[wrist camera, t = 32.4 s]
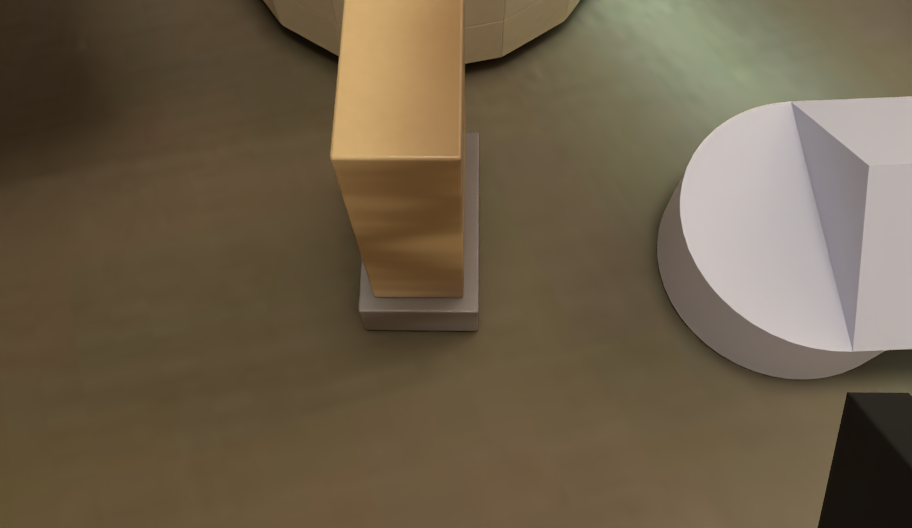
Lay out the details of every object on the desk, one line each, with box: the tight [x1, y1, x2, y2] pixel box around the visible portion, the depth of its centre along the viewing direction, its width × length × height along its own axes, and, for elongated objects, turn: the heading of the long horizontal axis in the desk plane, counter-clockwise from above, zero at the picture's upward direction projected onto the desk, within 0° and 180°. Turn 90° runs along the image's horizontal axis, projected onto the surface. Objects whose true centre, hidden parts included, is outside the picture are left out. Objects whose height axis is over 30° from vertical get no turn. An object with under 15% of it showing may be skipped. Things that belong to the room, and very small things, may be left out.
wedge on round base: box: [657, 97, 912, 380], centre depth 25 cm, size 9×7×13 cm
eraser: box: [330, 0, 479, 331], centre depth 24 cm, size 4×7×11 cm, turn 179°
